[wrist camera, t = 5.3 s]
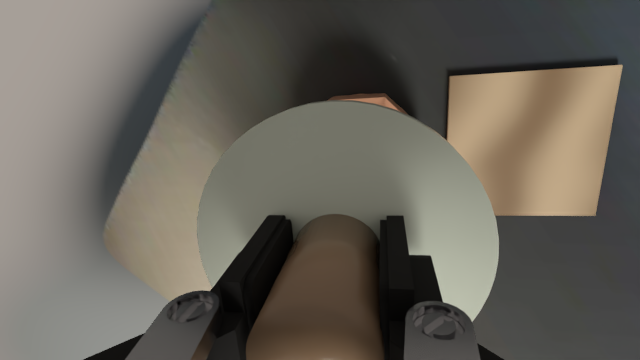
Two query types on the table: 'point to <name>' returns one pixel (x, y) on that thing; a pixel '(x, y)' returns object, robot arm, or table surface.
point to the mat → (535, 136)
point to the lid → (345, 222)
